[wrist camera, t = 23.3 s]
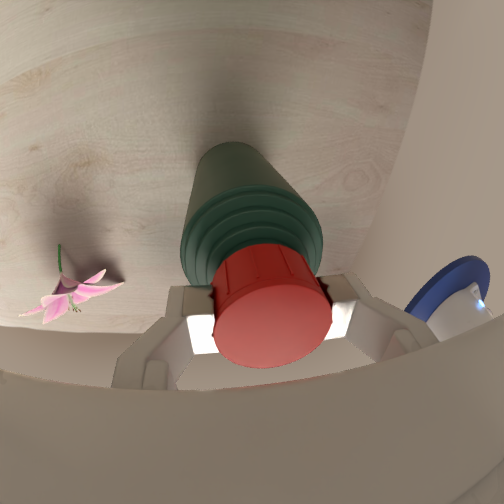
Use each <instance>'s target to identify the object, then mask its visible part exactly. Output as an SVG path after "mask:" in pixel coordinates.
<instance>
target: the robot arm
mask: <svg viewBox="0 0 504 504" xmlns="http://www.w3.org/2000/svg"><path fill="white" fill-rule="evenodd" d="M316 279H317V281H318V283H319V285H320V287H321V289H322V291H323V293H324V294H325V296H326V298H327V300H328V302H329V304H330V306H331V309H332V324H331V327H330V330H329V332H328V334H327V336H326V337H325V339H324V340H328V339H335V338H342V337H345V339H347V340H348V341H349V342H351V343H352V344H353V345H354V346H356V347H357V348H358V349H360V350H361V351H362V352H363V353H365V354H366V355H367V356H369V357H370V358H371V359H372V360H374V361H375V362H376V363H374V364H370V365H366V366H362V367H358V368H354V369H350V370H345V371H341V372H336V373H332V374H327V375H322V376H317V377H312V378H305V379H300V380H294V381H287V382H281V383H273V384H265V385H256V386H247V387H236V388H223V389H205V390H178V389H177V386H176V382H177V380H178V379H179V377H180V376H181V374H182V373H183V372H184V370H185V369H186V367H187V366H188V364H189V363H190V361H191V360H192V358H193V357H194V354H204V353H216V352H218V349H217V347H216V345H215V343H214V338H213V329H214V324H215V312H214V291H213V285H188V286H171V287H170V289H169V295H168V301H167V307H166V314H165V317H161V318H160V319H159V320H158V321H157V322H155V323H154V324H153V325H152V326H151V327H150V328H149V329H148V330H147V331H146V332H145V333H144V334H143V335H142V336H141V337H139V338H138V339H137V340H136V341H135V342H134V343H133V344H132V345H131V346H130V347H129V348H128V349H127V350H126V351H125V352H124V353H123V354H121V355H120V356H119V357H118V359H117V363H116V367H115V371H114V375H113V380H112V385H111V388H106V387H96V386H87V385H78V384H72V383H65V382H58V381H53V380H47V379H42V378H37V377H32V376H27V375H23V374H19V373H15V372H10V371H7V370H3V369H0V504H504V314H502V315H500V316H498V317H496V318H494V319H493V318H492V316H493V313H492V312H491V311H490V309H488V308H486V306H485V305H484V303H483V301H482V299H481V295H480V291H479V287H478V285H477V283H476V282H473V283H472V284H470V285H469V286H468V287H467V288H465V289H462V290H460V291H457V292H456V293H454V294H452V295H451V296H450V297H448V298H447V299H446V300H445V301H444V302H443V303H442V304H441V305H440V306H439V307H438V308H437V309H436V310H435V311H434V312H433V314H432V315H431V316H430V318H429V319H428V321H427V322H426V323H425V322H424V321H422V320H420V319H418V318H416V317H415V316H413V315H411V314H409V313H407V312H405V311H403V310H401V309H399V308H397V307H395V306H393V305H391V304H389V303H387V302H385V301H383V300H381V299H379V298H377V297H372V296H371V294H370V293H369V291H368V290H367V289H366V287H365V286H364V285H363V283H362V282H361V281H360V279H359V278H358V277H357V275H356V274H355V273H353V272H352V273H344V274H339V275H330V276H320V277H316Z"/></svg>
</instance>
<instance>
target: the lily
mask: <svg viewBox="0 0 504 504" xmlns="http://www.w3.org/2000/svg"><path fill="white" fill-rule="evenodd" d="M60 247H61V245H60V244H59V245H58V263H59V271H60V280H59V282H58V284H57V286H56V288H55V290H54V292H53V293H52V295H47V296H43V297H42V298H41V304H42V305H40V306H38V307H37V308H34V309H32V310H30V311H28V312H26V313H23V314H21V315H19V316H27V315H32V314H36V313H39V312H42V311H44V310H46V311H45V315H44V320H43V323H42V324H45V323H48V322H50V321H52V320H54V319H56V318H58V317H60V316H62V315H63V314H64V313H66V312H67V311H68V309H69V308H70V307H71V305H73V306H72V307H74V306H76V305H75V304H79V303H82V302H85V301H87V300H88V299H89V298H90V297H94V296H99V295H102V294H105V293H107V292H109V291H111V290H113V289H115V288H117V287H118V286H120V285H122V284H123V283H124V282H122V283H119V284H115V285H111V286H91V285H84V284H95V283H97V282H98V281H99V280H100V279H101V278H102V277H103V275H104V274H105V272H106V269H104V270H102V271H101V272H99V273H98V274H96V275H94V276H93V277H91V278H90V279H88V280H86V281H85V282H83V283H84V284H81V282H78V281H75V280H72V279H69V278H67V277H65V276H64V275H63V273H62V268H61V256H60ZM76 307H77V306H76ZM76 307H74V309H75V308H76ZM74 309H73V311H74ZM76 309H78V308H76ZM76 309H75V311H76V312H77V310H76ZM78 310H79V311H80V309H78ZM80 312H81V311H80Z"/></svg>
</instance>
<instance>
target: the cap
mask: <svg viewBox="0 0 504 504" xmlns="http://www.w3.org/2000/svg"><path fill="white" fill-rule="evenodd" d="M210 285H213V291H214V312H215V324H214V329H213V338H214V343H215V345H216V347H217V349H218V350H219V352H220V353H221V354H222V355H223V356H224V357H225V358H227V359H228V360H230V361H231V362H233V363H236V364H238V365H241V366H245V367H250V368H273V367H279V366H283V365H286V364H289V363H292V362H294V361H296V360H299V359H301V358H303V357H304V356H306V355H307V354H309V353H311V352H312V351H313V350H314V349H316V347H318V346H319V345H320V344H321V342H322V341H323V340H324V339H325V337H326V336H327V334H328V332H329V330H330V327H331V324H332V309H331V306H330V304H329V302H328V300H327V298H326V296H325V294H324V293H323V291H322V289H321V287H320V285H319V283H318V281H317V279H316V277H315V276H314V274H313V272H312V270H311V268H310V267H309V265H308V263H307V261H306V260H305V258H304V256H303V255H300V254H299V253H297V252H296V251H294V250H292V249H291V248H288V247H286V246H282V245H281V244H257V245H252V246H248V247H246V248H243V249H241V250H239V251H237V252H235V253H234V254H232V255H231V256H229V257H228V258H227V259H226V260H224V261H223V263H222V264H221V265H220V267H219V268H218V269H217V271H216V273H215V275H214V277H213V281H212V282H211V283H210Z"/></svg>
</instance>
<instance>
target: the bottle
mask: <svg viewBox="0 0 504 504" xmlns="http://www.w3.org/2000/svg"><path fill="white" fill-rule="evenodd" d="M257 244H281V245H282V246H286V247H288V248H291V249H292V250H294V251H296V252H297V253H299V254H300V255H303V256H304V258H305V260H306V261H307V263H308V265H309V267H310V268H311V270H312V272H313V274H314V276H315V275H316V273H317V271H318V268H319V265H320V262H321V257H322V248H323V236H322V231H321V226H320V224H319V221H318V219H317V217H316V215H315V214H314V212H313V211H312V209H311V208H310V207H309V206H308V204H307V203H306V202H305V201H304V200H303V199H302V198H301V197H300V195H299V194H298V193H297V192H296V191H295V190H294V189H293V188H292V187H291V186H290V185H289V183H288V182H287V181H286V180H285V179H284V178H283V177H282V176H281V175H280V174H279V173H278V172H277V171H276V170H275V169H274V168H273V166H272V165H271V164H270V163H269V162H268V161H267V160H266V159H265V158H264V157H263V156H262V155H261V154H260V153H259V152H258V151H257V150H256V149H254V148H253V147H251V146H249V145H247V144H244V143H240V142H226V143H222V144H219V145H217V146H215V147H213V148H212V149H210V150H209V151H208V152H207V153H206V154H205V155H204V156H203V157H202V159H201V160H200V162H199V165H198V167H197V171H196V175H195V179H194V183H193V188H192V192H191V196H190V201H189V205H188V210H187V215H186V219H185V224H184V229H183V234H182V239H181V246H180V258H181V264H182V268H183V270H184V273H185V275H186V277H187V279H188V281H189V282H190V284H191V285H210V283H211V282H212V281H213V277H214V275H215V273H216V271H217V269H218V268H219V267H220V265H221V264H222V263H223V261H224V260H226V259H227V258H228V257H229V256H231V255H232V254H234V253H235V252H237V251H239V250H241V249H243V248H246V247H248V246H252V245H257Z"/></svg>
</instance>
